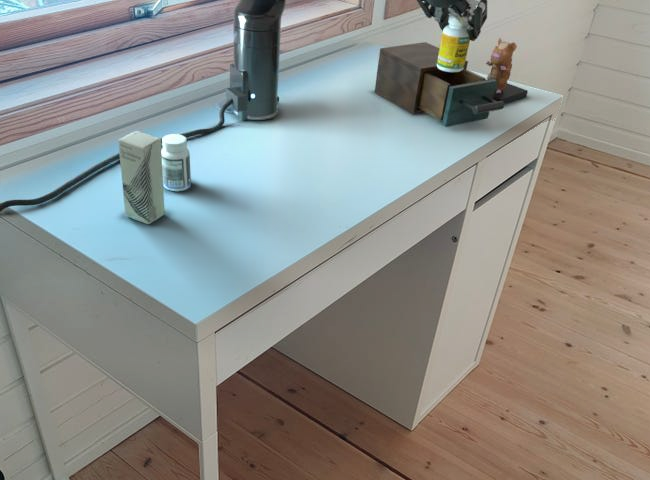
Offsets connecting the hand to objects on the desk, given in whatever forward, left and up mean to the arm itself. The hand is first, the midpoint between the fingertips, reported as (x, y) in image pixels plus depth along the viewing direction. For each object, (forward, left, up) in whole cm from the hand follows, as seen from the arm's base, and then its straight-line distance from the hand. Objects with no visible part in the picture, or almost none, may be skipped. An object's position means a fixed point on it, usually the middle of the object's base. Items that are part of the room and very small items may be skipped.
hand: (461, 32), depth 131 cm
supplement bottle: (-2, -1, -6) cm, 7 cm away
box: (-69, -11, -18) cm, 73 cm away
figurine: (+23, +9, -18) cm, 30 cm away
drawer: (+4, +1, -17) cm, 17 cm away
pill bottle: (-61, -3, -18) cm, 64 cm away
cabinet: (+4, +14, -18) cm, 23 cm away
